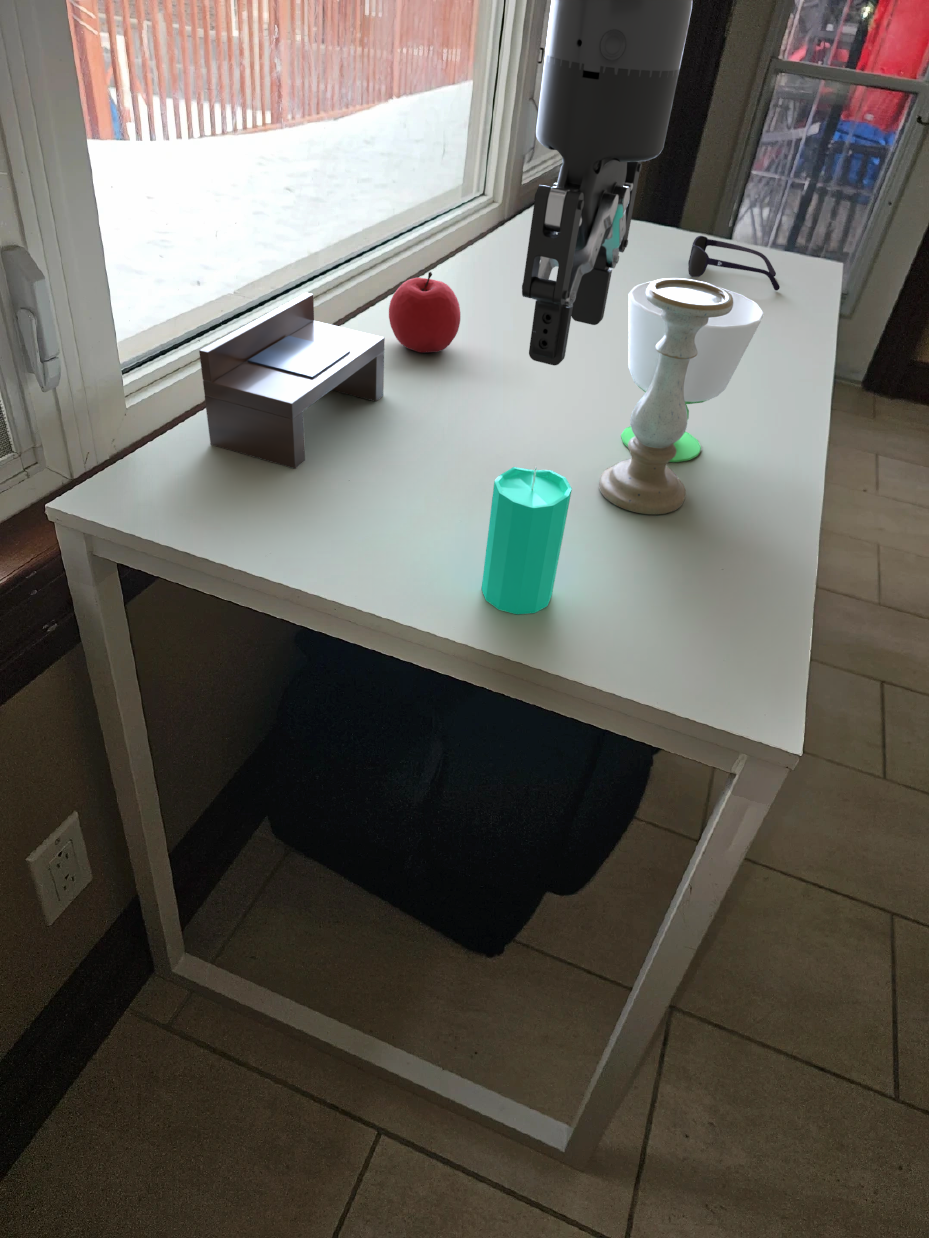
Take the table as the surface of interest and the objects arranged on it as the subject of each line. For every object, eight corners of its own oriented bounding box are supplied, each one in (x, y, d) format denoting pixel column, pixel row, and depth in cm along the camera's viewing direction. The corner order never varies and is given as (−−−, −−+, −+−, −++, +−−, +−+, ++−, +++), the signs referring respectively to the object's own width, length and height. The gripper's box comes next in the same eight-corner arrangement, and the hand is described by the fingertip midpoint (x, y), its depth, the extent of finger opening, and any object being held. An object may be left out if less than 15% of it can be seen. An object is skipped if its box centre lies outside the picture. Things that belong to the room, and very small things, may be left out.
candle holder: (666, 471, 90) (718, 276, 77) (696, 515, 83) (758, 310, 70) (588, 471, 88) (627, 273, 76) (612, 517, 82) (660, 308, 69)
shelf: (295, 469, 84) (290, 373, 78) (210, 444, 86) (198, 350, 80) (383, 395, 99) (385, 310, 92) (308, 376, 101) (305, 292, 95)
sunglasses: (686, 260, 153) (693, 231, 150) (773, 272, 151) (782, 243, 148) (686, 282, 143) (694, 251, 139) (780, 295, 141) (790, 265, 138)
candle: (564, 588, 72) (588, 465, 64) (530, 624, 68) (552, 496, 60) (504, 563, 74) (521, 440, 67) (468, 595, 70) (481, 469, 62)
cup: (579, 444, 93) (605, 300, 83) (631, 405, 102) (661, 271, 92) (694, 487, 88) (737, 338, 78) (738, 441, 97) (782, 303, 87)
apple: (461, 339, 114) (467, 263, 108) (453, 365, 107) (460, 285, 101) (394, 331, 114) (396, 255, 108) (382, 356, 107) (384, 276, 101)
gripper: (587, 39, 53) (549, 300, 63) (502, 52, 42) (474, 362, 52) (705, 55, 51) (646, 322, 61) (646, 73, 40) (587, 391, 50)
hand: (566, 340), depth 57 cm, fingers open, 8 cm apart
